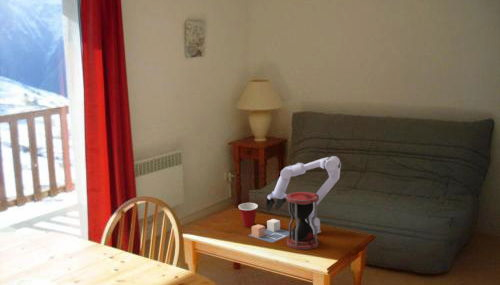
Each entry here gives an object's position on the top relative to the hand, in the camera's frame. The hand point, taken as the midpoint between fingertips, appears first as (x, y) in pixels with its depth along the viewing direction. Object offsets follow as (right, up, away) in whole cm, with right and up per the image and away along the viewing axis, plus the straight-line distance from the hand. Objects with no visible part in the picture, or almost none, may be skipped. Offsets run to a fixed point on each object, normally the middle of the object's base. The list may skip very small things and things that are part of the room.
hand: (272, 209), depth 303 cm
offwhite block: (+1, -11, -1) cm, 11 cm away
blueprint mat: (-1, -12, -8) cm, 15 cm away
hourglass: (+15, -15, -22) cm, 30 cm away
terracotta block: (-8, -12, -9) cm, 17 cm away
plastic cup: (-13, -10, +7) cm, 18 cm away
